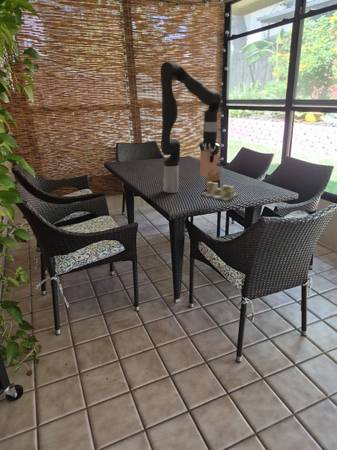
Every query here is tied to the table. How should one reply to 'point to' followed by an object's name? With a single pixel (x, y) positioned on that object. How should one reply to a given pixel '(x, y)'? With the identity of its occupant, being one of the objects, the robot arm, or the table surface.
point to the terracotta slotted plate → (207, 164)
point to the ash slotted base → (219, 191)
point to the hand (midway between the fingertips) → (208, 161)
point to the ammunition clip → (213, 178)
